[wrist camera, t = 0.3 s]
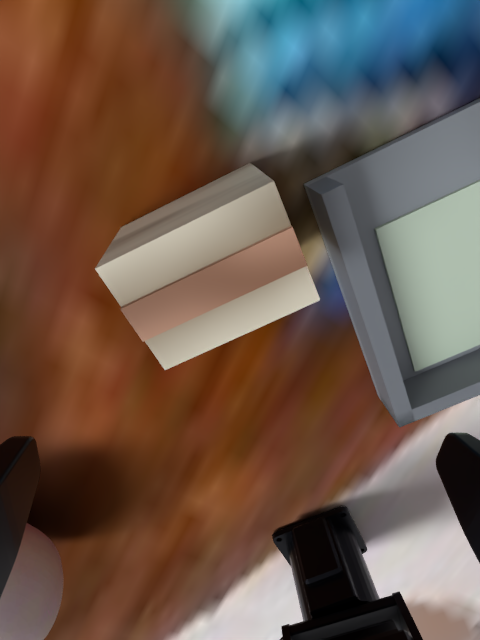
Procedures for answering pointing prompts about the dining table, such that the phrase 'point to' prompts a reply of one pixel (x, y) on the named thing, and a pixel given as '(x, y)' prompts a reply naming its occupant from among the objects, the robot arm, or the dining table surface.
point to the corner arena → (411, 261)
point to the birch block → (208, 267)
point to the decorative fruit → (32, 589)
